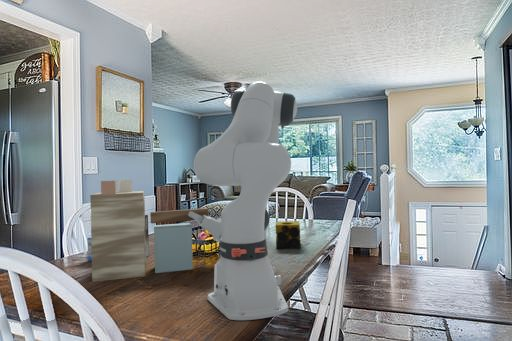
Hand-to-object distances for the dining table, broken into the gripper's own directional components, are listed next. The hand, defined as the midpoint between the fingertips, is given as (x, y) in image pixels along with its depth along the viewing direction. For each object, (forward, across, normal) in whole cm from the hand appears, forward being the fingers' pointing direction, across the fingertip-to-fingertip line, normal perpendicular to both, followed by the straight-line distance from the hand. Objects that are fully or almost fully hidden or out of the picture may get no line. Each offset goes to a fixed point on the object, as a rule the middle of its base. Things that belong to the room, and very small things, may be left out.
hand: (188, 212), depth 118 cm
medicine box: (+18, -22, +32) cm, 42 cm away
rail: (+1, 0, +4) cm, 4 cm away
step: (-5, 0, +19) cm, 19 cm away
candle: (-46, -16, -5) cm, 50 cm away
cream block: (+21, -4, +4) cm, 22 cm away
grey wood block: (+10, 0, +27) cm, 28 cm away
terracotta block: (+25, +4, +6) cm, 26 cm away
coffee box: (+6, -20, +25) cm, 33 cm away
